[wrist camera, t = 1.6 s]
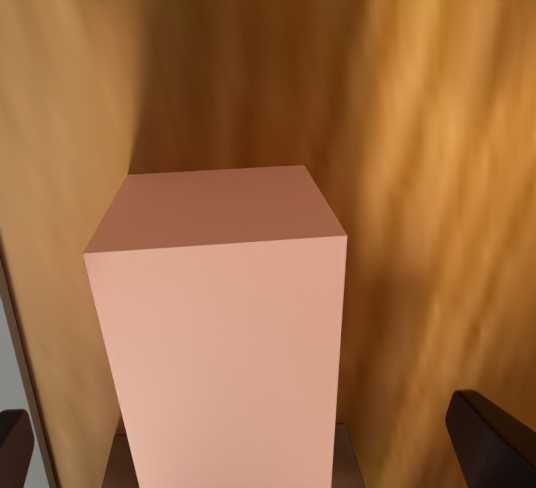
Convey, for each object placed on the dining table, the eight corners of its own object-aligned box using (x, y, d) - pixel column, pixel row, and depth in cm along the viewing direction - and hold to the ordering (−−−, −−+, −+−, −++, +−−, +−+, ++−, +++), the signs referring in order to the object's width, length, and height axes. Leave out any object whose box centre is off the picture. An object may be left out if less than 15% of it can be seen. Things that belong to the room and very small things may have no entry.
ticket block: (302, 162, 13) (347, 235, 9) (298, 514, 21) (320, 649, 16) (129, 171, 13) (83, 253, 8) (190, 527, 20) (183, 669, 16)
